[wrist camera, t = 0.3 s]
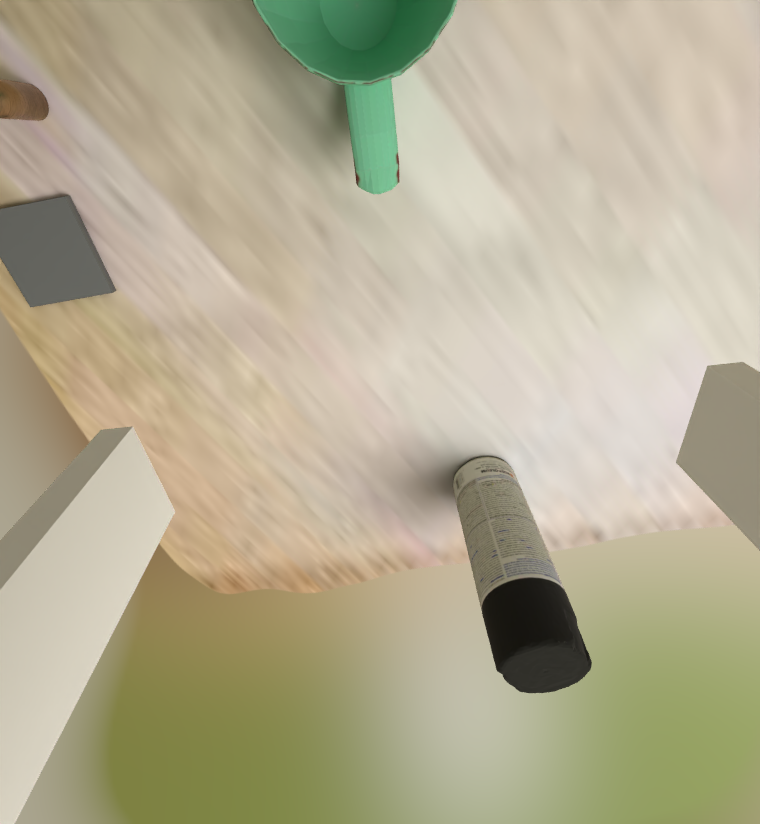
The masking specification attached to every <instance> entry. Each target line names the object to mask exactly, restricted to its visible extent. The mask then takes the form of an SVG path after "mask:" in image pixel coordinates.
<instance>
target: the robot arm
mask: <svg viewBox="0 0 760 824" xmlns="http://www.w3.org/2000/svg"><path fill="white" fill-rule="evenodd" d="M676 463H677V464H678V465H679V466H680V467H681V468H682V469H683V470H684V471H685V472H686V473H687V474H688V476H689V477H690V478H691V479H692V480H693V481H694V482H695V483H696V484H697V485H698V486H699V487H700V488H701V489H702V490H703V491H704V492H705V493H706V494H707V496H708V497H709V498H710V499H711V500H712V501H713V502H714V503H715V504H716V505H717V506H718V507H719V508H720V509H721V510H722V511H723V512H724V513H725V515H726V516H727V517H728V518H729V519H730V520H731V521H732V522H733V523H734V524H735V525H736V526H737V527H738V528H739V529H740V530H741V531H742V532H743V533H744V534H745V536H746V537H747V538H748V539H749V540H750V541H751V542H752V543H753V544H754V545H755V546H756V547H757V548H758V549H759V550H760V372H758V371H757V370H755V369H753V368H752V367H750V366H748V365H747V364H745V363H743V362H739V363H730V364H720V365H711V366H707V369H706V372H705V375H704V378H703V381H702V384H701V387H700V390H699V393H698V396H697V400H696V403H695V406H694V409H693V412H692V415H691V418H690V421H689V424H688V427H687V430H686V433H685V436H684V439H683V443H682V446H681V449H680V452H679V455H678V458H677V461H676ZM174 513H175V510H174V508H173V506H172V504H171V502H170V500H169V498H168V496H167V494H166V492H165V490H164V488H163V486H162V484H161V482H160V480H159V478H158V476H157V474H156V472H155V470H154V468H153V466H152V464H151V462H150V460H149V458H148V456H147V454H146V452H145V450H144V448H143V446H142V444H141V442H140V440H139V438H138V436H137V434H136V432H135V430H134V428H133V427H124V428H114V429H105V430H101V431H100V432H99V433H98V434H97V435H96V436H95V437H94V438H93V439H92V440H91V441H90V443H89V444H88V445H87V446H86V447H85V448H84V449H83V450H82V452H80V454H79V455H78V456H77V457H76V458H75V459H74V460H73V461H72V462H71V464H70V465H69V466H68V467H67V468H66V469H65V470H64V471H63V472H62V474H60V476H59V477H58V478H57V479H56V480H55V481H54V482H53V483H52V484H51V485H50V487H49V488H48V489H47V490H46V491H45V492H44V493H43V494H42V495H41V496H40V497H39V499H38V500H37V501H36V502H35V503H34V504H33V505H32V506H31V507H30V509H29V510H28V511H27V512H26V513H25V514H24V515H23V516H22V517H21V518H20V519H19V521H18V522H17V523H16V524H15V525H14V526H13V527H12V528H11V529H10V530H9V531H8V533H7V534H6V535H5V536H4V537H3V538H2V539H1V540H0V824H15V822H16V820H17V818H18V816H19V814H20V812H21V810H22V808H23V806H24V804H25V802H26V800H27V798H28V796H29V795H30V793H31V791H32V789H33V787H34V785H35V783H36V781H37V779H38V777H39V775H40V773H41V771H42V769H43V767H44V765H45V763H46V761H47V760H48V758H49V756H50V754H51V752H52V749H53V748H54V746H55V744H56V742H57V740H58V738H59V736H60V734H61V732H62V730H63V728H64V726H65V725H66V723H67V721H68V719H69V717H70V715H71V713H72V711H73V709H74V707H75V705H76V703H77V701H78V699H79V697H80V695H81V693H82V691H83V690H84V688H85V686H86V684H87V682H88V680H89V678H90V676H91V674H92V672H93V670H94V668H95V666H96V664H97V662H98V660H99V658H100V656H101V655H102V652H103V651H104V649H105V647H106V645H107V643H108V641H109V639H110V637H111V635H112V633H113V631H114V629H115V627H116V625H117V623H118V622H119V620H120V617H121V616H122V614H123V612H124V610H125V608H126V606H127V604H128V602H129V600H130V598H131V596H132V594H133V592H134V590H135V589H136V586H137V585H138V583H139V581H140V579H141V577H142V575H143V573H144V571H145V569H146V567H147V565H148V563H149V561H150V559H151V557H152V555H153V554H154V552H155V550H156V548H157V546H158V544H159V542H160V540H161V538H162V536H163V534H164V532H165V530H166V528H167V526H168V524H169V522H170V520H171V519H172V517H173V515H174Z"/></svg>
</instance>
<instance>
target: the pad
mask: <svg viewBox="0 0 760 824" xmlns="http://www.w3.org/2000/svg"><path fill="white" fill-rule="evenodd" d="M0 258H1V259H2V261H3V263H4V264H5V266H6V268H7V269H8V271H9V273H10V274H11V276H12V278H13V279H14V281H15V282H16V284H17V286H18V287H19V289H20V291H21V292H22V294H23V296H24V297H25V299H26V301H27V302H28V304H29V306H30V307H35V306H41V305H46V304H52V303H57V302H63V301H69V300H74V299H80V298H85V297H91V296H97V295H102V294H108V293H113V292H114V291H116V289H115V287H114V285H113V283H112V281H111V279H110V277H109V275H108V273H107V271H106V268H105V266H104V264H103V262H102V260H101V258H100V256H99V254H98V252H97V250H96V248H95V246H94V244H93V242H92V240H91V238H90V236H89V234H88V232H87V230H86V228H85V226H84V224H83V222H82V219H81V217H80V215H79V213H78V211H77V209H76V207H75V205H74V203H73V201H72V199H71V197H70V196H64V197H59V198H54V199H49V200H44V201H39V202H34V203H29V204H24V205H18V206H13V207H8V208H3V209H0Z"/></svg>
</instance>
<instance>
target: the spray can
mask: <svg viewBox="0 0 760 824" xmlns="http://www.w3.org/2000/svg"><path fill="white" fill-rule="evenodd" d="M453 490H454V495H455V499H456V503H457V508H458V512H459V516H460V521H461V525H462V529H463V533H464V537H465V542H466V546H467V550H468V555H469V559H470V563H471V567H472V571H473V576H474V580H475V584H476V589H477V593H478V597H479V601H480V606H481V610H482V614H483V618H484V622H485V626H486V630H487V634H488V638H489V641H490V645H491V649H492V653H493V658H494V661H495V665H496V669H497V671H498V672H500V673H501V674H503V677H504V679H505V680H506V681H507V682H508V683H509V684H510V685H512V686H514V687H515V688H516V689H517V690H519V691H520V692H526V693H545V692H553V691H557V690H559V689H562V688H566V687H569V686H570V685H572V684H575V683H577V682H578V681H580V680H581V679H582V678H583V677H585V675H586V674H587V673H588V672H589V671H590V669H591V663H592V662H591V659H590V656H589V653H588V651H587V650H586V647H585V644H584V642H583V639H582V636H581V634H580V631H579V629H578V626H577V619H576V616H575V614H574V611H573V609H572V607H571V604H570V602H569V599H568V597H567V594H566V592H565V590H564V587H563V585H562V582H561V580H560V578H559V575H558V573H557V571H556V568H555V566H554V564H553V561H552V559H551V557H550V554H549V552H548V550H547V548H546V545H545V543H544V541H543V538H542V536H541V534H540V531H539V529H538V527H537V524H536V522H535V520H534V517H533V515H532V513H531V510H530V508H529V506H528V504H527V501H526V499H525V497H524V494H523V492H522V489H521V487H520V485H519V483H518V480H517V478H516V476H515V473H514V471H513V470H512V468H511V467H510V466H509V465H508V464H507V463H506V462H505V461H504V460H502V459H500V458H496V457H479V458H475V459H473V460H470V461H469V462H467V463H466V464H465V465H463V466H462V467H460V469H459V470H458V471H457V473H456V474H455V476H454V482H453Z"/></svg>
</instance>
